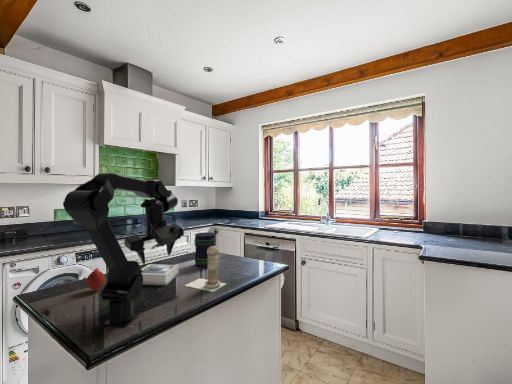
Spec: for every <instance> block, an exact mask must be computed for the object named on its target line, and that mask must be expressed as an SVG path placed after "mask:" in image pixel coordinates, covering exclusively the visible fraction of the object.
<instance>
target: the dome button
mask: <svg viewBox="0 0 512 384" xmlns="http://www.w3.org/2000/svg"><path fill="white" fill-rule="evenodd" d="M167 265H168V264H159V263H158V264H157V265H152V266H149V267H146V268H145V269H144V273H151V274H165V273H166V272H168V271H169V270H170V267H169V266H167Z"/></svg>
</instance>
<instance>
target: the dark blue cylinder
mask: <svg viewBox="0 0 512 384" xmlns="http://www.w3.org/2000/svg"><path fill="white" fill-rule="evenodd" d="M216 241H217V240H216V233H214V232H198V233H197V232H196V233H195V234H194V247H195V254H194V263H195V264H194V267H195V266H196V267H195V268H197V267H198V269H208V255H207V249H208V248H209V247H210V246H216V245H217V244H216Z"/></svg>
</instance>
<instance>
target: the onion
mask: <svg viewBox="0 0 512 384" xmlns="http://www.w3.org/2000/svg"><path fill="white" fill-rule="evenodd" d="M106 280H107V278H106V276H105V274H104V273H103V272H102V271H100V270H99V268H98V267H96V268H94V269H93V271H92V272H91V273H90V274H89V275H88V276H87V278H86V286H87V287H88V288H89V289H90V290H92V291H95V292H96V291H98V290H99V289H101V288H102V287H103V286H104V285H105V283H106Z"/></svg>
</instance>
